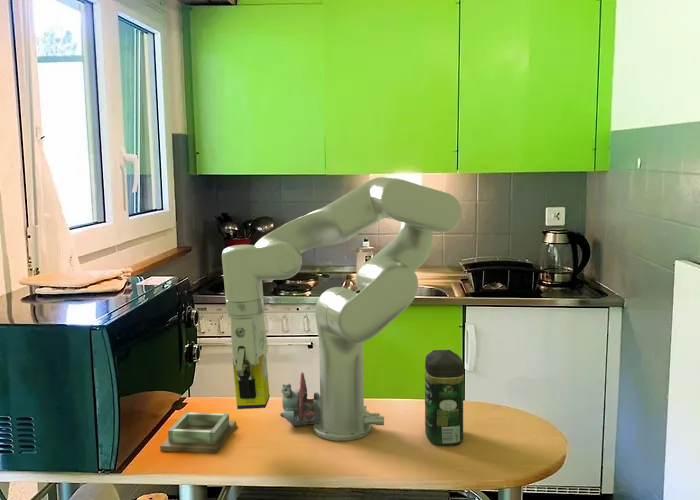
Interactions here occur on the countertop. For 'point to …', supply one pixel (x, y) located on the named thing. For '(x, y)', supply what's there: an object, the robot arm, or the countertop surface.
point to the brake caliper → (300, 405)
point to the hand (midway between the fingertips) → (252, 390)
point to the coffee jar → (444, 397)
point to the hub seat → (199, 433)
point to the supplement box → (260, 386)
